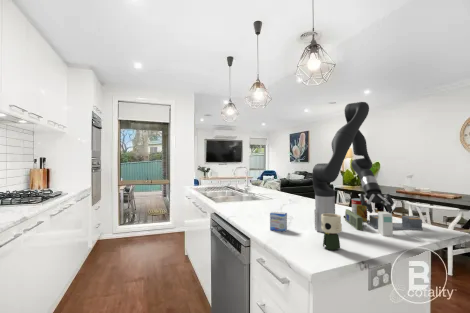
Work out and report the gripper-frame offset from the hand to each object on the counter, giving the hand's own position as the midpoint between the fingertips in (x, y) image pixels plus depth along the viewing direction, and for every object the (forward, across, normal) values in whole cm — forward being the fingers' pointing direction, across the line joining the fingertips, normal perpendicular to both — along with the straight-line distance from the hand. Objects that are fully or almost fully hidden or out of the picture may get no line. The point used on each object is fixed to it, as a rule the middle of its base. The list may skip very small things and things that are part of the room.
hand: (381, 212), depth 113 cm
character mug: (+25, -29, -12) cm, 40 cm away
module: (+10, 0, +4) cm, 10 cm away
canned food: (-10, -2, +23) cm, 25 cm away
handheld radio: (-3, -9, +17) cm, 19 cm away
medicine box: (+9, -49, +5) cm, 50 cm away
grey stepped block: (0, +10, +14) cm, 17 cm away
